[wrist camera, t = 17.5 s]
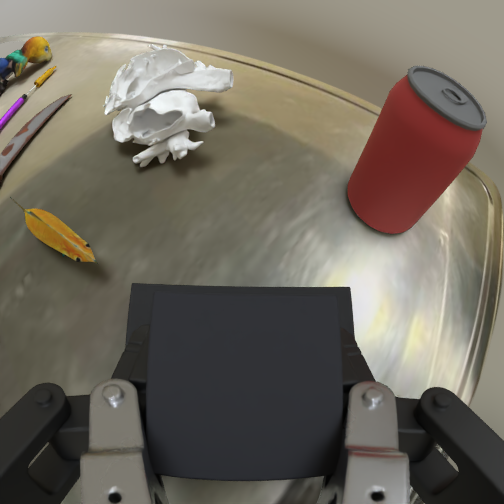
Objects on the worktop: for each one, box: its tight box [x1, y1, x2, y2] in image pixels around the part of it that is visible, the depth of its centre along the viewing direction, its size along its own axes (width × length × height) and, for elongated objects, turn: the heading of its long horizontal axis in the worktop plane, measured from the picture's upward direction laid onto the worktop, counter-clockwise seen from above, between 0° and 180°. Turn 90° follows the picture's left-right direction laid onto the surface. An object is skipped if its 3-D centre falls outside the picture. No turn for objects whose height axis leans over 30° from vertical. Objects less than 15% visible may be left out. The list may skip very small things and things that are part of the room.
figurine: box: [0, 37, 52, 95], centre depth 30 cm, size 11×8×6 cm, turn 110°
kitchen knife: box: [0, 94, 72, 184], centre depth 24 cm, size 21×2×5 cm
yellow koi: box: [10, 197, 98, 264], centre depth 19 cm, size 12×2×5 cm, turn 62°
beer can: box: [348, 66, 487, 234], centre depth 18 cm, size 7×7×12 cm
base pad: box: [125, 283, 355, 348], centre depth 16 cm, size 14×12×4 cm
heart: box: [103, 44, 233, 167], centre depth 24 cm, size 12×7×12 cm
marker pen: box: [0, 66, 56, 129], centre depth 29 cm, size 3×1×16 cm
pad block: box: [146, 291, 343, 481], centre depth 10 cm, size 5×5×8 cm
